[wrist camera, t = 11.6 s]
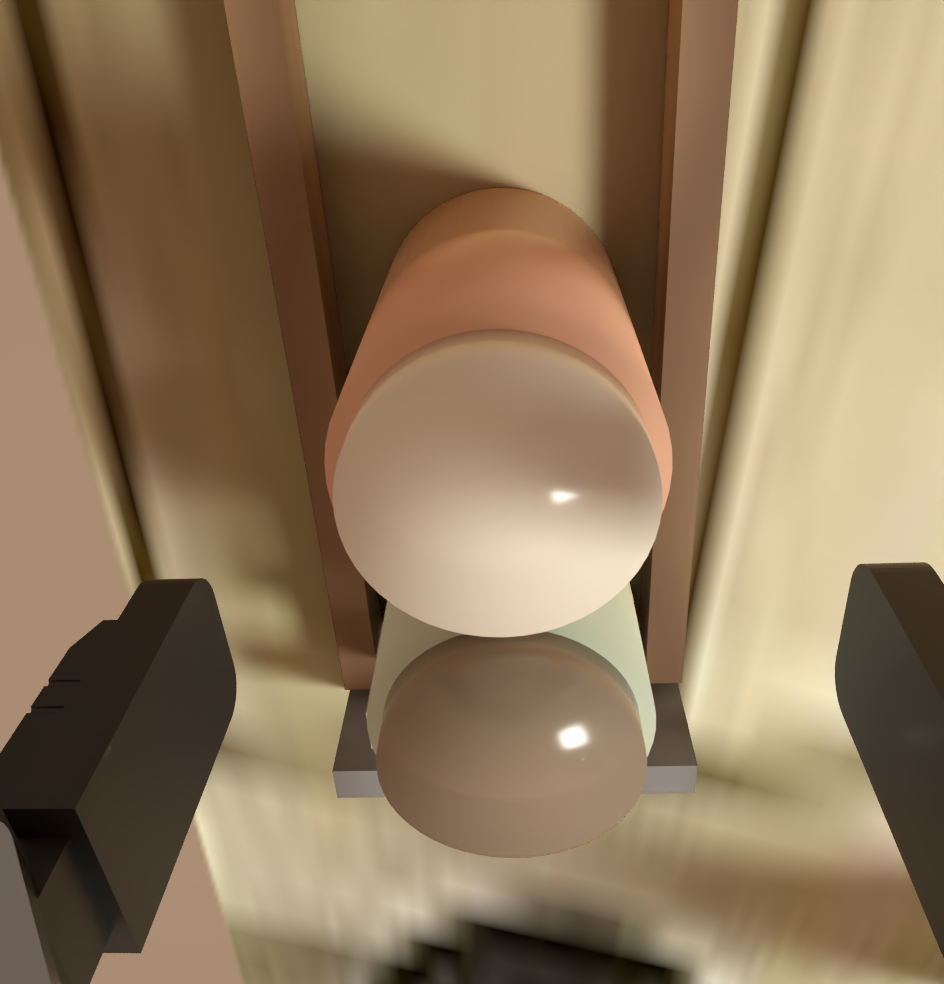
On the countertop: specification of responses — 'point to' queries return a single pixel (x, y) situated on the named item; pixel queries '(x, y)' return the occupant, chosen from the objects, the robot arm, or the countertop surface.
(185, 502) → the countertop surface
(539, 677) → the sage jar
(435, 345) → the terracotta jar
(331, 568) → the lane
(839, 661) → the robot arm
